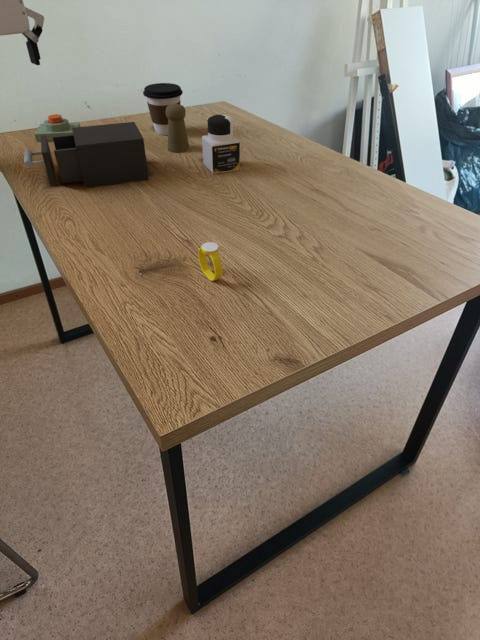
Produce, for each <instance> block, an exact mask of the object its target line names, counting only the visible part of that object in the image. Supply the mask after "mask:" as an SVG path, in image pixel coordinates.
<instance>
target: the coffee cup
mask: <svg viewBox="0 0 480 640" xmlns="http://www.w3.org/2000/svg"><path fill="white" fill-rule="evenodd" d="M142 93H143V96H144V97H146V103H147V109H148V111H149V115H150V119H151V122H152V125H153V127H154V130H155V132H156V134H157V135H160V136H168V118H167V117H166V113H165V111H166V107H167V106H168V105H171V104H180V105H181V96H182V95H183V90H182V87H181V86H180V85H179V84H176V83H171V82H159V83H158V82H157V83H151V84H148V85H146V86H145V87H144V88H143V91H142Z"/></svg>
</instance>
